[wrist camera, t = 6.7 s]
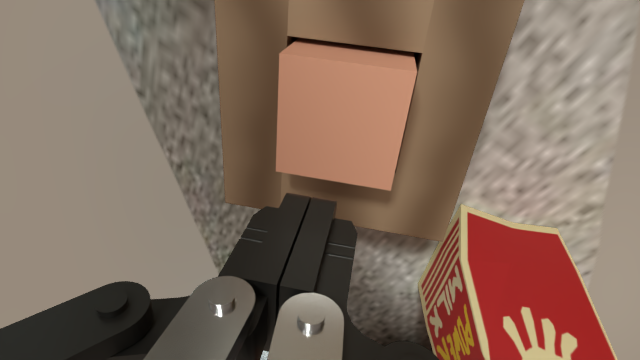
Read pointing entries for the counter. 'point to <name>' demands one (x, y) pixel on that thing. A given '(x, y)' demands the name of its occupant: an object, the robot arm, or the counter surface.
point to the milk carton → (508, 295)
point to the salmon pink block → (342, 111)
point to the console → (424, 111)
